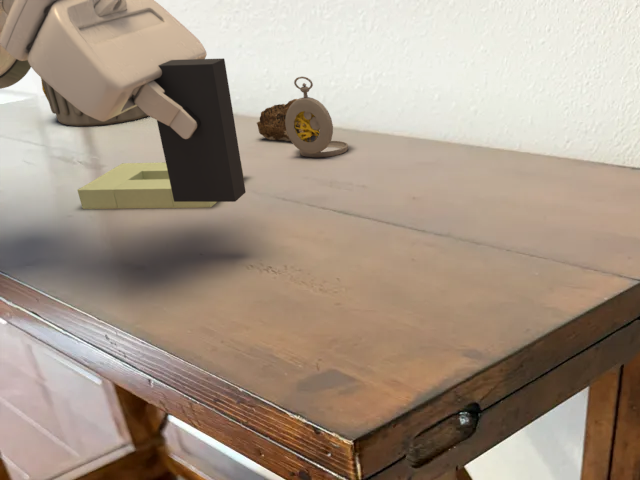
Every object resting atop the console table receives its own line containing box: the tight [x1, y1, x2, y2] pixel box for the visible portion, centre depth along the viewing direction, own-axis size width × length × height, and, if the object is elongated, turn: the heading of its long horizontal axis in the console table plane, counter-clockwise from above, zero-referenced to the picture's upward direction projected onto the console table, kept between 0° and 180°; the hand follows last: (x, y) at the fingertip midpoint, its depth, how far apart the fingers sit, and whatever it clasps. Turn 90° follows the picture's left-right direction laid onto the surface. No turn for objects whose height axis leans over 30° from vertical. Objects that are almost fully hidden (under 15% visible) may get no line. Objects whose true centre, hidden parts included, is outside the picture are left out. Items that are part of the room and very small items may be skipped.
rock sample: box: [256, 98, 317, 142], centre depth 118 cm, size 10×8×9 cm
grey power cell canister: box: [40, 77, 149, 127], centre depth 135 cm, size 19×19×30 cm
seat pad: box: [76, 161, 245, 210], centre depth 98 cm, size 16×12×2 cm
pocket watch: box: [285, 76, 349, 158], centre depth 107 cm, size 8×8×10 cm
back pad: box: [154, 58, 246, 203], centre depth 72 cm, size 6×3×11 cm, turn 80°
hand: (203, 126), depth 72 cm, fingers closed on back pad, 3 cm apart
